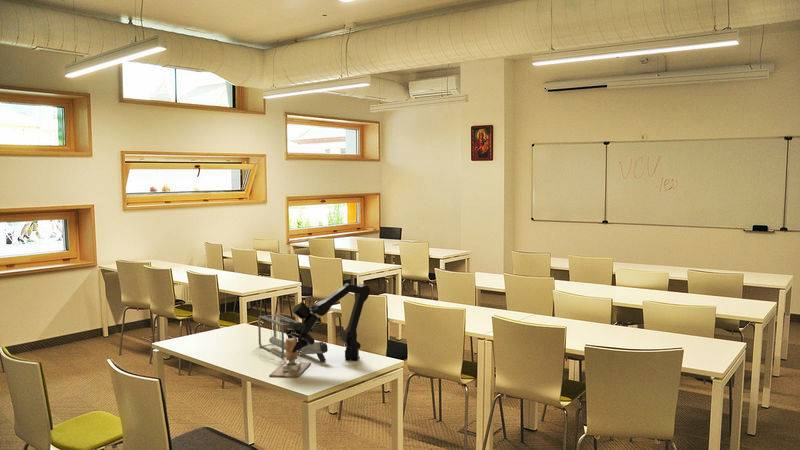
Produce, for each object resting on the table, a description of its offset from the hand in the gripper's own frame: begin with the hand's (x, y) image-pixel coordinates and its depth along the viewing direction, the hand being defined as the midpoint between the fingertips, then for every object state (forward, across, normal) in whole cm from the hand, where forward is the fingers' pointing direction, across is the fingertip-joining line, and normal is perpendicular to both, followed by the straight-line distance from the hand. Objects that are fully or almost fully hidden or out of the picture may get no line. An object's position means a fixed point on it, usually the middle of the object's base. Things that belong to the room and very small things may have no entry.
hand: (289, 350), depth 293 cm
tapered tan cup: (+4, 0, +6) cm, 7 cm away
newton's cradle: (-5, -36, +19) cm, 41 cm away
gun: (-8, -11, +23) cm, 27 cm away
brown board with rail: (+6, -1, +8) cm, 10 cm away
